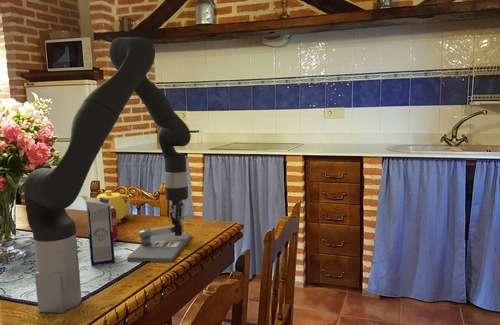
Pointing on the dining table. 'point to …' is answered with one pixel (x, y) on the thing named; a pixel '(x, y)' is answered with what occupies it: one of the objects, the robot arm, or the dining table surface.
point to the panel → (159, 248)
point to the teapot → (115, 203)
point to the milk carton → (100, 231)
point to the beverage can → (114, 223)
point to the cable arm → (157, 231)
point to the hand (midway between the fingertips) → (178, 235)
